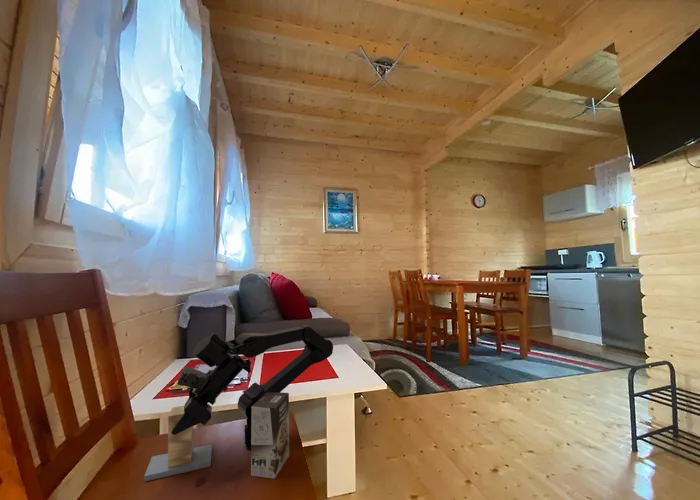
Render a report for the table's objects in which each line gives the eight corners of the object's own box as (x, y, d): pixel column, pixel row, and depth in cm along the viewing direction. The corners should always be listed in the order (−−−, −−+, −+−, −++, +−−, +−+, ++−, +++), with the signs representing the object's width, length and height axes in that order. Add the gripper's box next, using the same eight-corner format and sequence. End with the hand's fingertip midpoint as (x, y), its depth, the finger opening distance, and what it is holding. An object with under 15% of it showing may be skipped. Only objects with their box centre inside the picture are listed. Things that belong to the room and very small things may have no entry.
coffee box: (275, 479, 72) (275, 407, 72) (250, 476, 73) (250, 406, 74) (290, 455, 81) (289, 392, 81) (267, 453, 82) (266, 390, 83)
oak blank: (193, 451, 81) (193, 404, 82) (191, 462, 77) (191, 412, 77) (171, 455, 79) (171, 407, 80) (167, 467, 75) (168, 416, 75)
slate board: (212, 448, 84) (212, 444, 84) (210, 466, 77) (210, 461, 77) (151, 461, 79) (152, 456, 79) (144, 481, 72) (144, 476, 72)
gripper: (201, 347, 89) (156, 393, 85) (195, 367, 72) (138, 425, 67) (231, 371, 92) (188, 417, 87) (231, 396, 74) (179, 454, 70)
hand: (174, 426), depth 78 cm, fingers open, 7 cm apart
